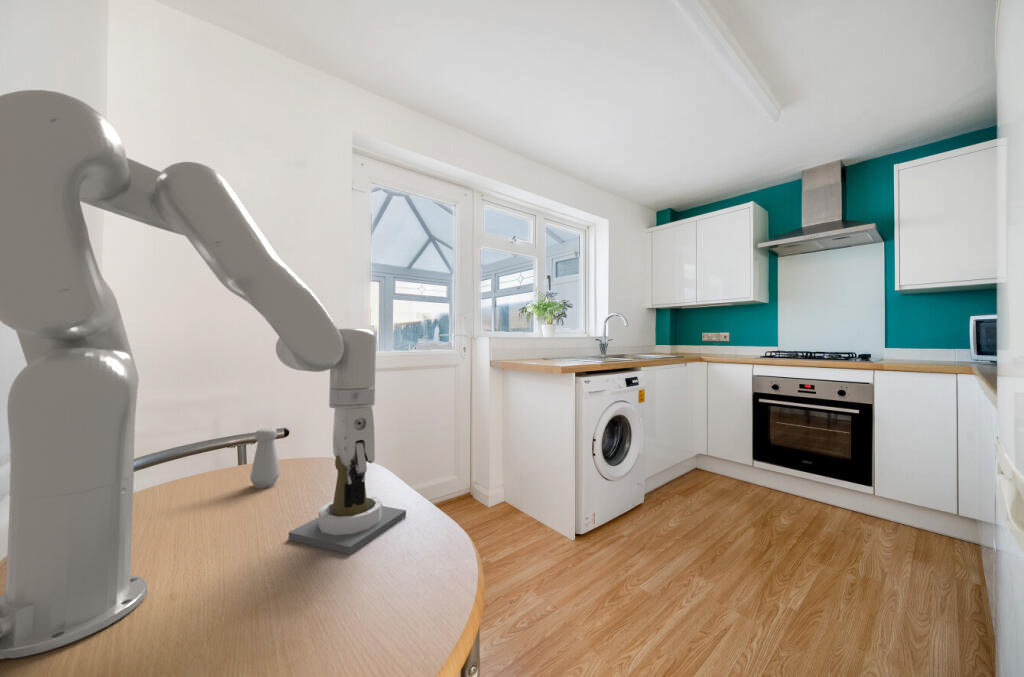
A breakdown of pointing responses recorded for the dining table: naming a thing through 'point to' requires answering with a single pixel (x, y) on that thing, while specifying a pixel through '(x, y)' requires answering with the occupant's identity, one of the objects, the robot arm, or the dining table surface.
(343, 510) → the cork
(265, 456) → the salt shaker
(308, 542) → the mat
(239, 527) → the dining table surface
